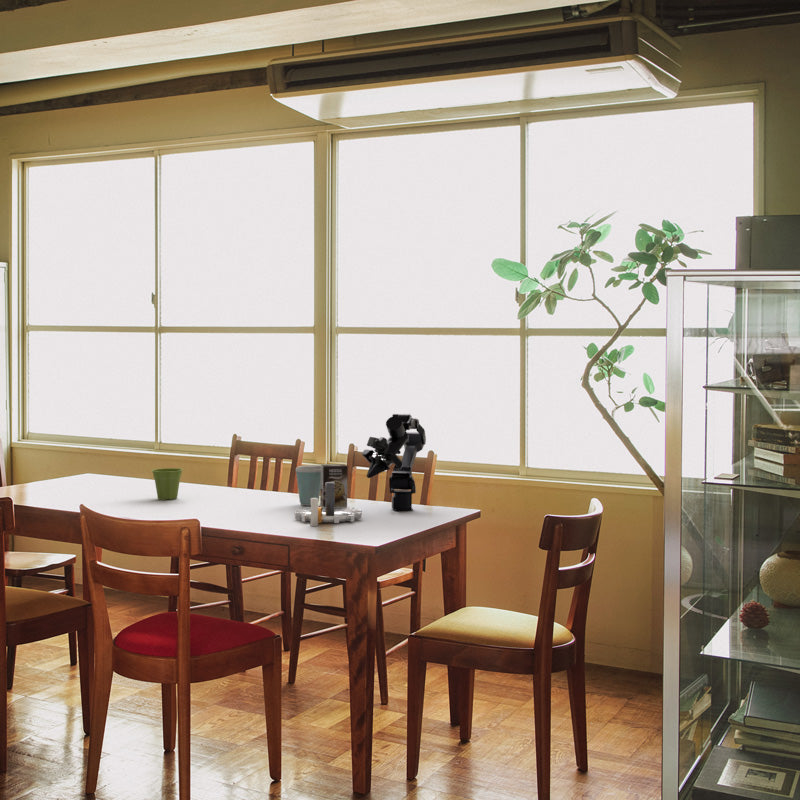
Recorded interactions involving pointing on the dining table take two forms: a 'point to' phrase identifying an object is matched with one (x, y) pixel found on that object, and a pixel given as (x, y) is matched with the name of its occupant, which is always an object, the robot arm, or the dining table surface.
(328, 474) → the coffee box
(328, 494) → the sprocket
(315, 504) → the pointer post
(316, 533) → the dining table surface
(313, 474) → the disposable coffee cup
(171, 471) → the plant pot
